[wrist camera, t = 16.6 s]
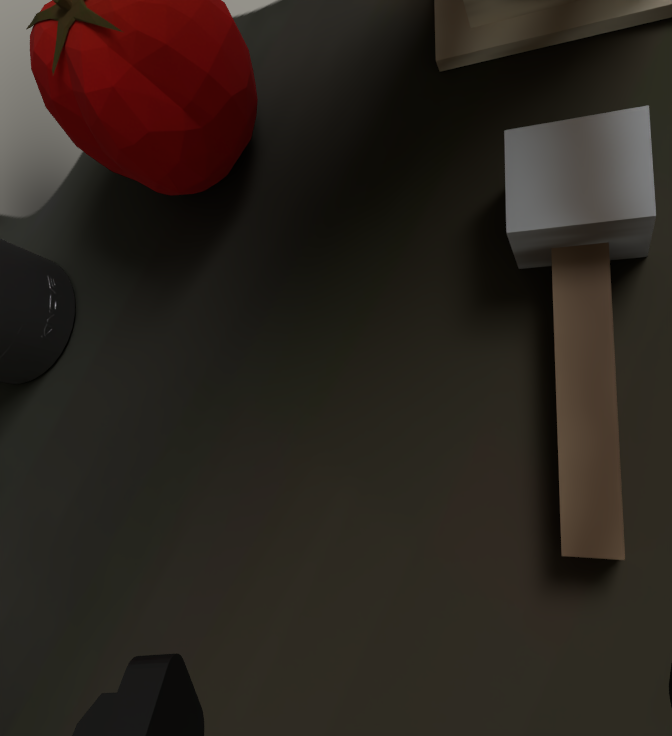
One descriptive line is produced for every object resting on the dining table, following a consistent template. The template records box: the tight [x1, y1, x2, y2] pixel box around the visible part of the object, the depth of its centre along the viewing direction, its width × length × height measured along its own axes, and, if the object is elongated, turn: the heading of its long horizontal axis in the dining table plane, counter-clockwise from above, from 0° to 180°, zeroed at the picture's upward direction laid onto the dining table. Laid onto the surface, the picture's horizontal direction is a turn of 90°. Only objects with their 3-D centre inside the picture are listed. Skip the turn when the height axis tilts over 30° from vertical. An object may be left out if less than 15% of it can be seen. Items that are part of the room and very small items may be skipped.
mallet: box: [504, 105, 656, 560], centre depth 29 cm, size 6×19×5 cm, turn 178°
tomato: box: [27, 0, 257, 195], centre depth 36 cm, size 12×12×13 cm
